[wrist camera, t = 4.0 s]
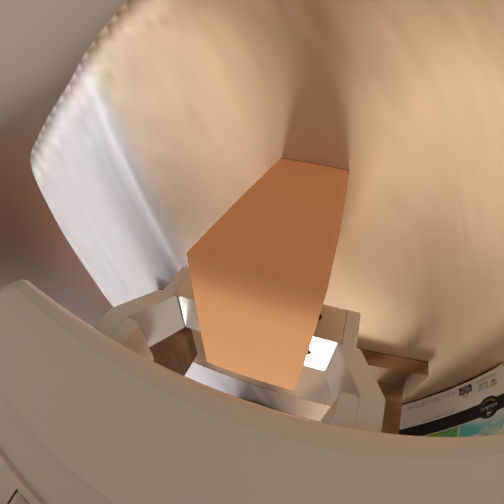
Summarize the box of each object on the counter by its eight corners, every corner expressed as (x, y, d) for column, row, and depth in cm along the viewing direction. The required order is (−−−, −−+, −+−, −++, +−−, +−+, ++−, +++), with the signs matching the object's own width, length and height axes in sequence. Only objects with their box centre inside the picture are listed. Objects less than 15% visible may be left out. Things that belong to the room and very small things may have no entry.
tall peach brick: (348, 170, 14) (326, 289, 7) (331, 256, 18) (294, 391, 10) (281, 158, 15) (187, 253, 8) (274, 242, 19) (207, 362, 11)
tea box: (502, 358, 16) (507, 495, 5) (514, 388, 17) (514, 494, 6) (390, 406, 26) (365, 517, 15) (421, 426, 27) (405, 518, 16)
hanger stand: (428, 362, 20) (410, 518, 8) (387, 405, 26) (361, 520, 14) (158, 289, 28) (69, 398, 16) (175, 343, 33) (113, 433, 22)
